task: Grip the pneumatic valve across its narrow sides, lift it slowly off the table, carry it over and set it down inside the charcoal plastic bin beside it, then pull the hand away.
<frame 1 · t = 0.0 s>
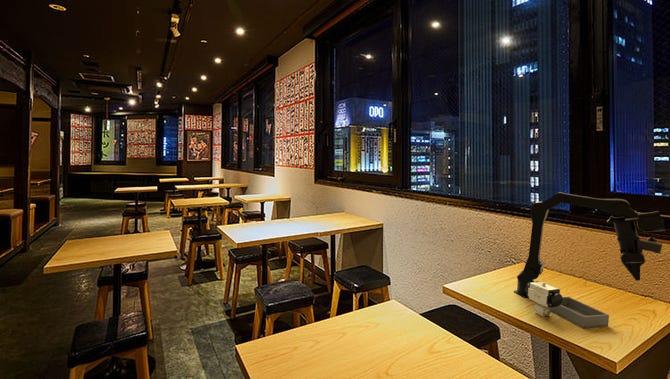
hand: (637, 277, 121), 15 cm above the table, fingers open, 9 cm apart
bin: (574, 316, 124), on the table
pneumatic valve: (541, 315, 125), on the table
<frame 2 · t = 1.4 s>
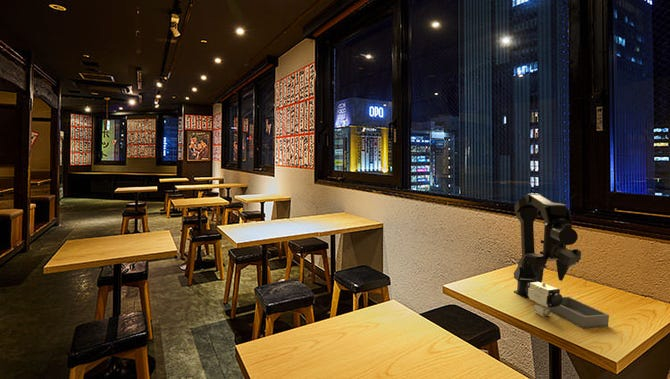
hand: (550, 281, 123), 13 cm above the table, fingers open, 9 cm apart
nothing on the table moved.
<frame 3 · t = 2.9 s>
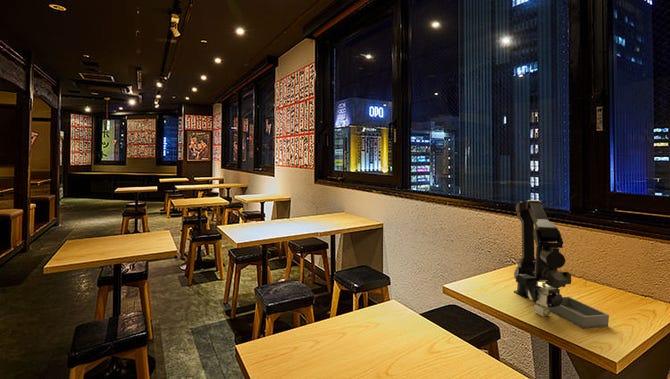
hand: (542, 301, 125), 5 cm above the table, fingers closed on pneumatic valve, 6 cm apart
pneumatic valve: (541, 315, 125), on the table, touching gripper
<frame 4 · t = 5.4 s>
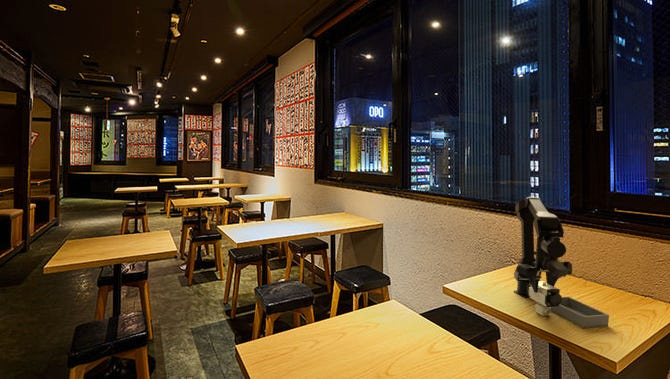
hand: (542, 292, 125), 8 cm above the table, fingers closed on pneumatic valve, 5 cm apart
pneumatic valve: (541, 314, 125), on the table, touching gripper
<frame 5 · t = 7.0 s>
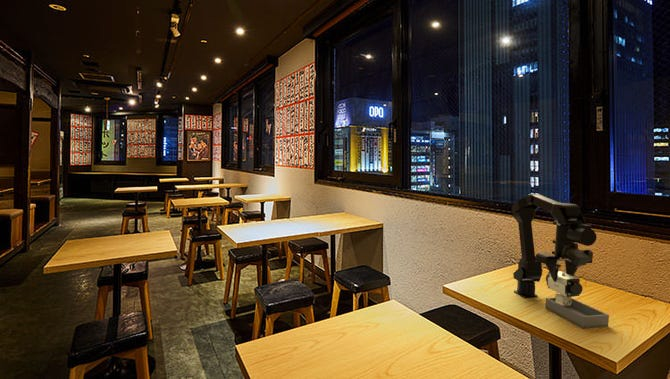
hand: (561, 281, 123), 13 cm above the table, fingers closed on pneumatic valve, 5 cm apart
pneumatic valve: (561, 304, 124), point 4 cm above the table, touching gripper
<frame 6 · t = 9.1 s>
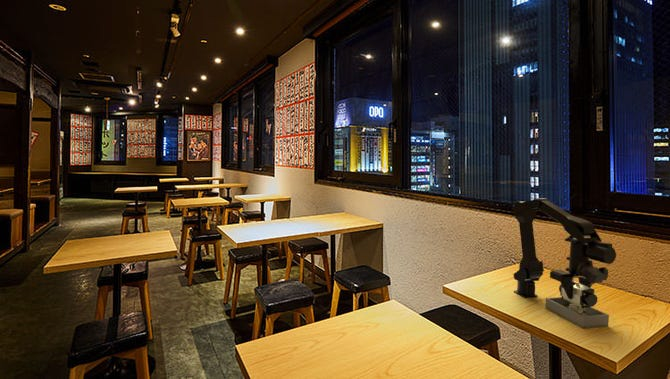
hand: (576, 298, 123), 7 cm above the table, fingers closed on pneumatic valve, 5 cm apart
pneumatic valve: (576, 315, 124), point 1 cm above the table, touching bin, gripper
when the fingers open (7 cm above the table, at t = 9.9 s): pneumatic valve stays where it is, resting on bin.
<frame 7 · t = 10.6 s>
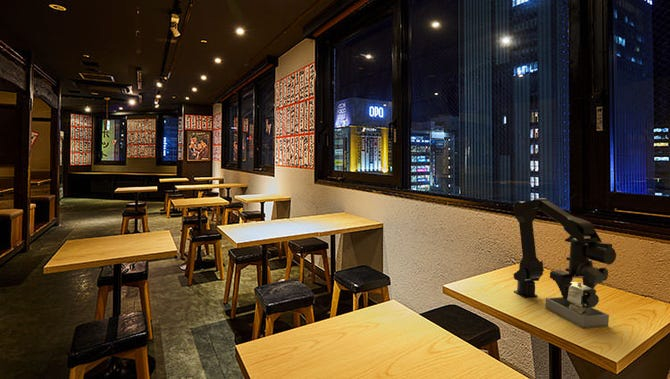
hand: (576, 298, 123), 7 cm above the table, fingers open, 9 cm apart
pneumatic valve: (576, 315, 124), resting on bin
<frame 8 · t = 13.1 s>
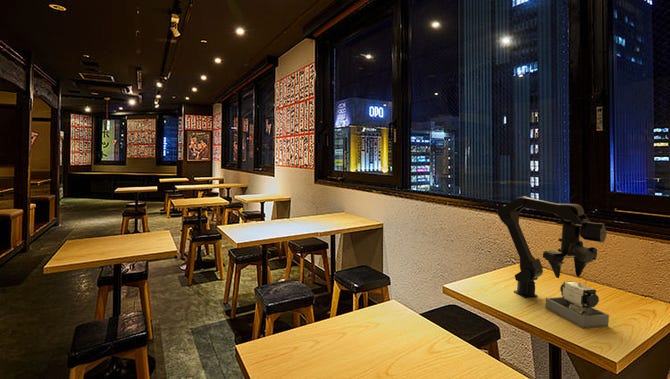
hand: (567, 277, 131), 12 cm above the table, fingers open, 9 cm apart
nothing on the table moved.
at the end: pneumatic valve inside the target area on the bin (0.7 cm from its centre), point 0.4 cm above the bin's base; pneumatic valve tilted 0°; the gripper is holding nothing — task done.
